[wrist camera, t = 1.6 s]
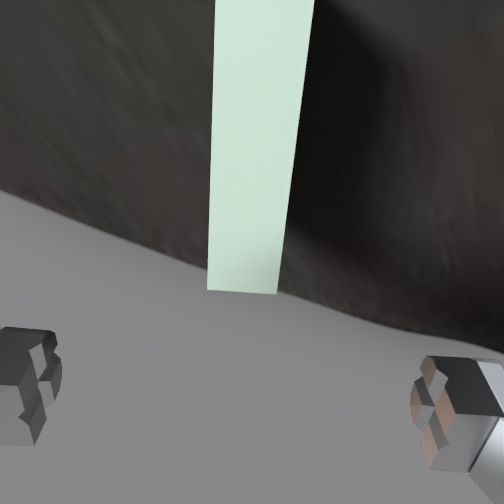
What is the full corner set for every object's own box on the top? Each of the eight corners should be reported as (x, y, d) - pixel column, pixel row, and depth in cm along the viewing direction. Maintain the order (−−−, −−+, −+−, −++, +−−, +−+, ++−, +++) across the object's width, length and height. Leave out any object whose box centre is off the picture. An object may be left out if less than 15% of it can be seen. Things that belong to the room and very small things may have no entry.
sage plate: (295, -38, 27) (317, -23, 17) (272, 184, 35) (276, 294, 24) (234, -44, 27) (216, -33, 16) (224, 181, 35) (207, 289, 24)
